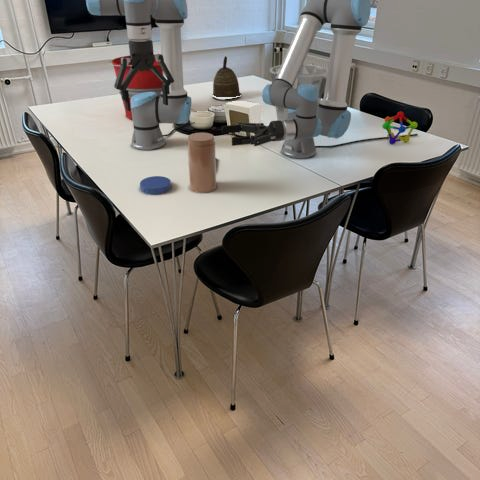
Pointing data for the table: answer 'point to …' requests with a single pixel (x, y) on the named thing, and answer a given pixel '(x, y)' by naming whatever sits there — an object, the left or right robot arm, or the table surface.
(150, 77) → the bucket
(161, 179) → the lid
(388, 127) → the educational toy
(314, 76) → the bucket
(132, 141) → the left robot arm
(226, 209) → the table surface
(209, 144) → the jar
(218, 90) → the bell
